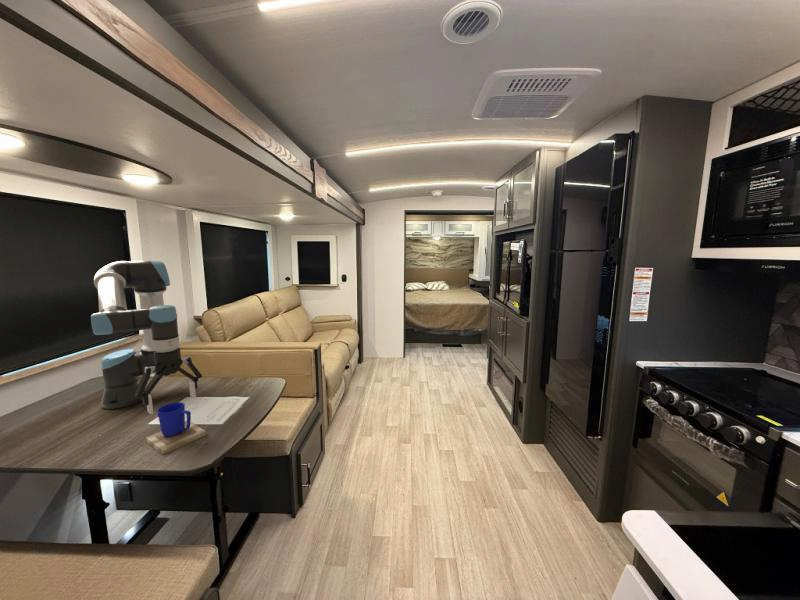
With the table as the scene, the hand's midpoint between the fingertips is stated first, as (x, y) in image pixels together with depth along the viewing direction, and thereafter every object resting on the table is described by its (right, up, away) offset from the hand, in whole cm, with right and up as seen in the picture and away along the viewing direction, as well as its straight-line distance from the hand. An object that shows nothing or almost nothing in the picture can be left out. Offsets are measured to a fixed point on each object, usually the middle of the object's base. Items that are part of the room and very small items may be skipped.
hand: (172, 404), depth 113 cm
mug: (+1, -11, +2) cm, 12 cm away
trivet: (0, -13, +1) cm, 13 cm away
